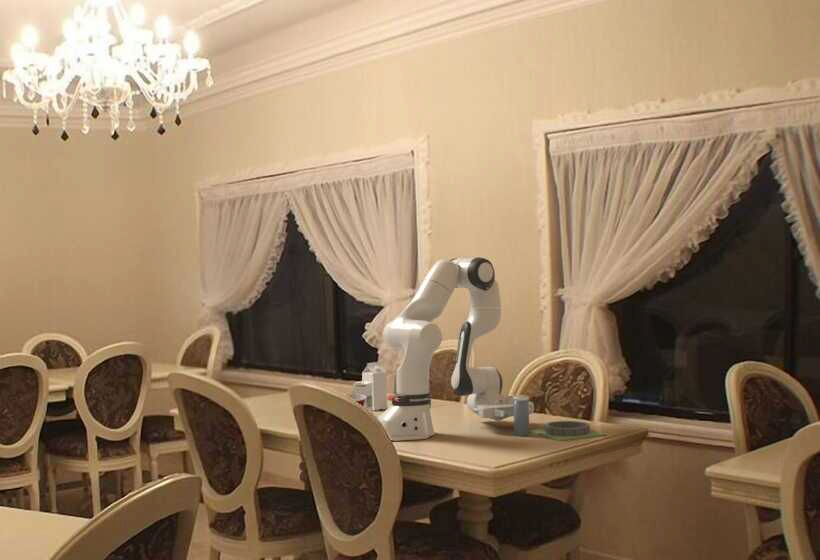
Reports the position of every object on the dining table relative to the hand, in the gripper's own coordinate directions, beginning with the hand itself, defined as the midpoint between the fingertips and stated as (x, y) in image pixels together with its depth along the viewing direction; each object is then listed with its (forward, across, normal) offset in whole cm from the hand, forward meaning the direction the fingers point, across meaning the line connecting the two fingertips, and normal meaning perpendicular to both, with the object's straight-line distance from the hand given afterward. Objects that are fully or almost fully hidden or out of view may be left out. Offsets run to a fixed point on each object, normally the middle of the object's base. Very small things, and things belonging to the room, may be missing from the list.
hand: (517, 412), depth 287 cm
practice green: (+9, +14, +7) cm, 18 cm away
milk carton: (-74, -22, +7) cm, 78 cm away
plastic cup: (-36, -46, +7) cm, 59 cm away
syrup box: (-51, -36, +7) cm, 63 cm away
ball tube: (+3, 0, +7) cm, 8 cm away
